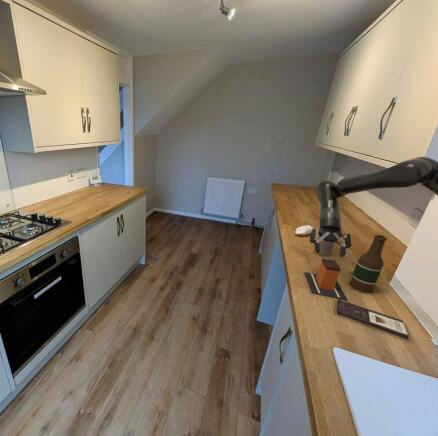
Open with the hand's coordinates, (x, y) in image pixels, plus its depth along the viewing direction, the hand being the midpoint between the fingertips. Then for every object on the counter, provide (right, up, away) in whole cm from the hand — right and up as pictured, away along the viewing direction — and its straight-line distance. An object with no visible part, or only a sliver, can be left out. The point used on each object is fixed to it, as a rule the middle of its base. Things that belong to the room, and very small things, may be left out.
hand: (329, 254), depth 100 cm
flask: (+21, -3, +31) cm, 38 cm away
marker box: (-2, -13, +1) cm, 13 cm away
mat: (-2, -14, +1) cm, 14 cm away
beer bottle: (+13, -14, 0) cm, 19 cm away
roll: (+21, +10, +48) cm, 54 cm away
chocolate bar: (+1, -21, -16) cm, 26 cm away
